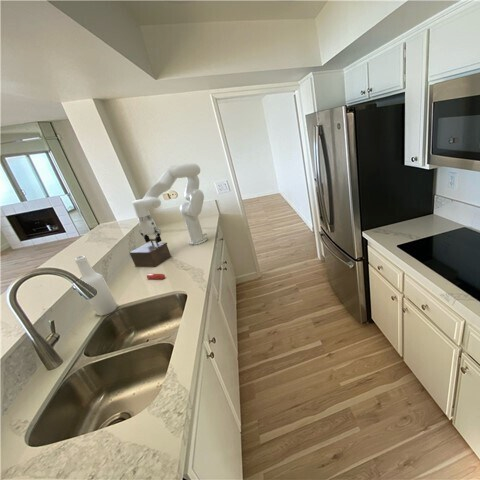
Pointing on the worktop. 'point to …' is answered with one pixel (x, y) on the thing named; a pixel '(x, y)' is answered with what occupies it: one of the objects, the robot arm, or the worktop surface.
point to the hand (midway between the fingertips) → (153, 241)
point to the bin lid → (148, 247)
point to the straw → (155, 276)
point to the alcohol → (97, 288)
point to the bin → (151, 257)
